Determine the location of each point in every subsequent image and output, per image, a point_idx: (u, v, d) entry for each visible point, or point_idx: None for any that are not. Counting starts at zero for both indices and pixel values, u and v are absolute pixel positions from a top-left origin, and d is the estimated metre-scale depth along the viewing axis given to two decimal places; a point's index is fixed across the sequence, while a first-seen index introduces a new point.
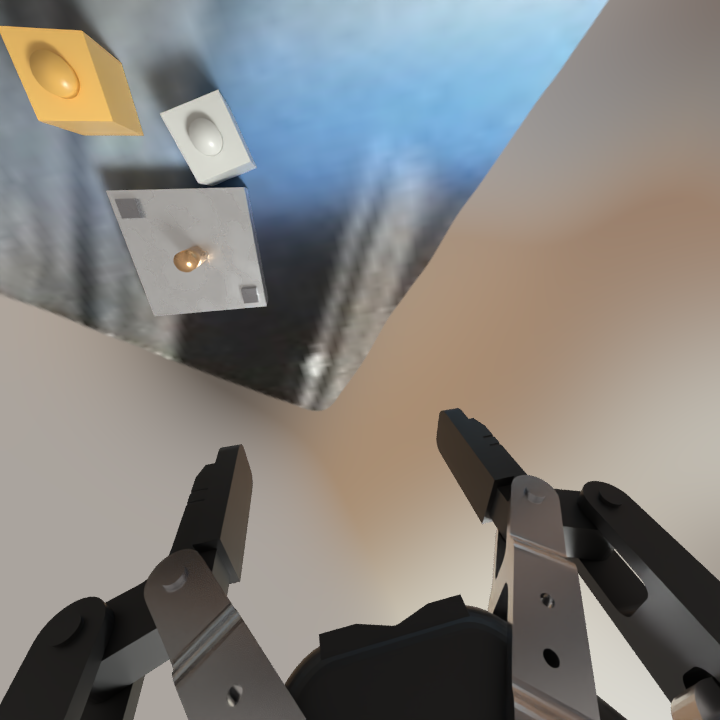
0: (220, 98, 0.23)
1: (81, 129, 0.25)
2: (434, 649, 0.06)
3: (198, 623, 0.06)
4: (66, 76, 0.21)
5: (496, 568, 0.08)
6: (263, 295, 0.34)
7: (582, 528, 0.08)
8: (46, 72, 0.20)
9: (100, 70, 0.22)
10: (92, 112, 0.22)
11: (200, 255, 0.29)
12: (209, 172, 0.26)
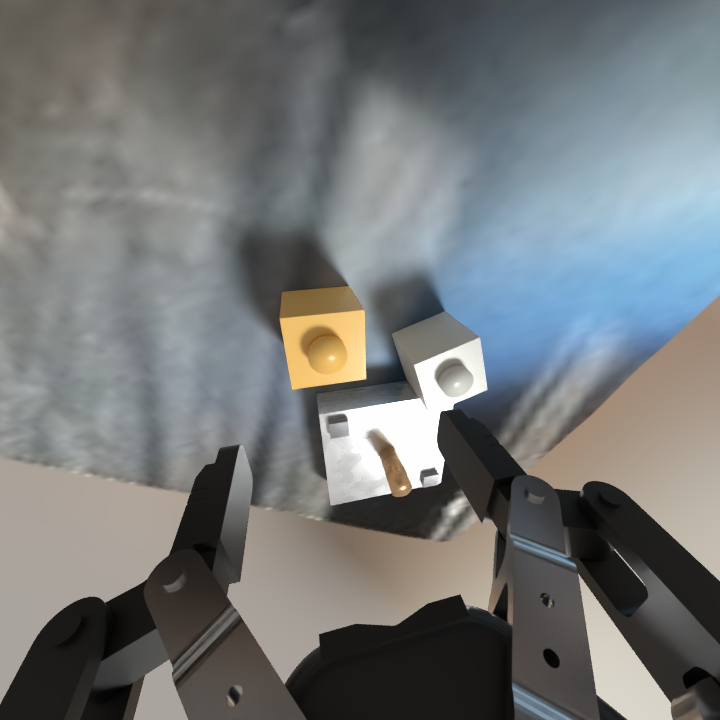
0: (479, 344, 0.21)
1: None
2: (434, 649, 0.06)
3: (198, 623, 0.06)
4: (341, 357, 0.18)
5: (496, 568, 0.08)
6: (440, 475, 0.31)
7: (582, 528, 0.08)
8: (322, 357, 0.18)
9: None
10: (348, 375, 0.20)
11: (402, 464, 0.26)
12: (443, 404, 0.23)
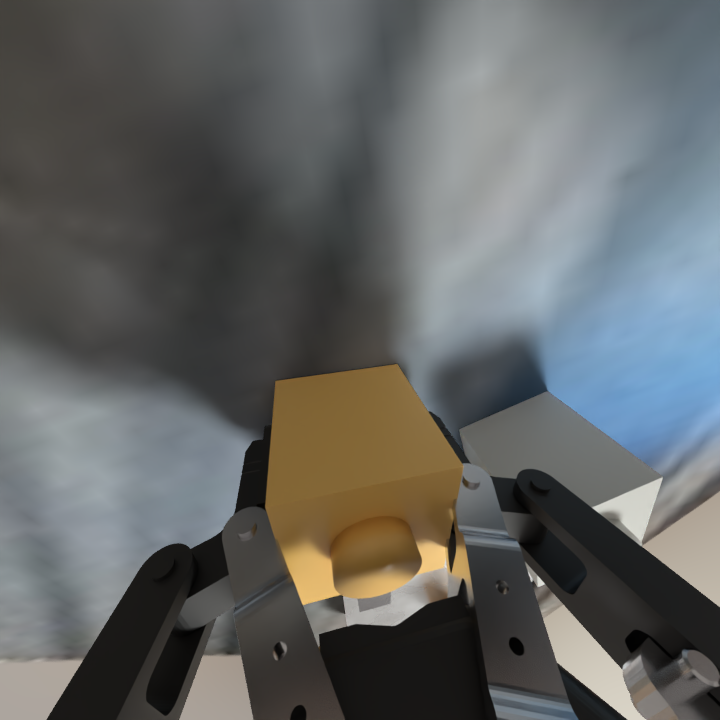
0: (656, 486, 0.11)
1: None
2: (434, 649, 0.06)
3: (259, 575, 0.07)
4: (408, 568, 0.08)
5: (449, 561, 0.09)
6: None
7: (513, 512, 0.08)
8: (367, 576, 0.08)
9: None
10: None
11: None
12: None
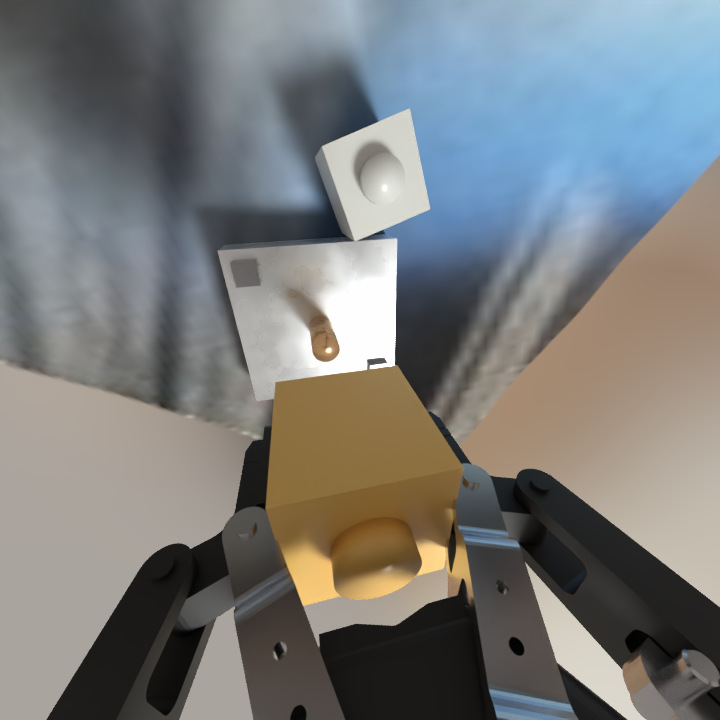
0: (409, 121, 0.16)
1: None
2: (434, 649, 0.06)
3: (259, 575, 0.07)
4: (408, 569, 0.08)
5: (449, 561, 0.09)
6: None
7: (513, 512, 0.08)
8: (367, 577, 0.08)
9: None
10: None
11: (334, 331, 0.21)
12: (372, 226, 0.18)
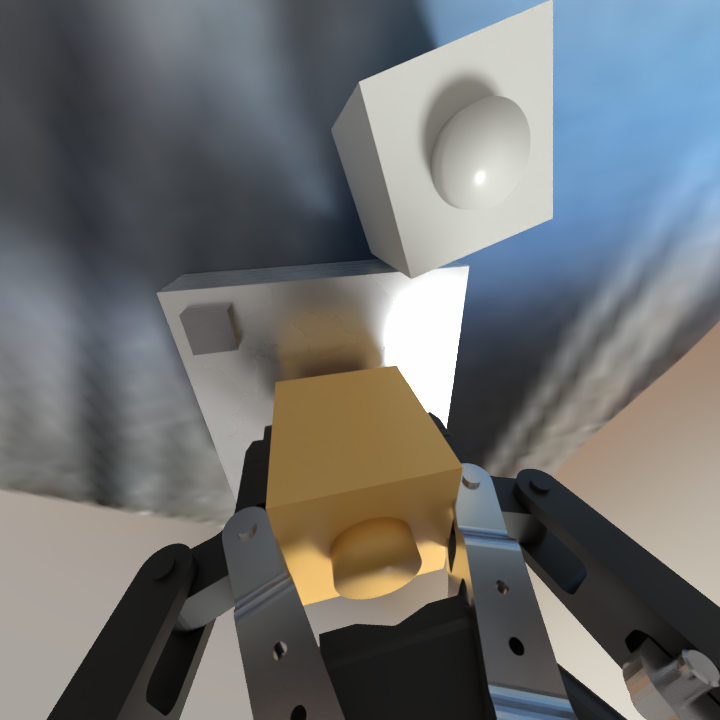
0: (548, 31, 0.07)
1: None
2: (434, 649, 0.06)
3: (259, 575, 0.07)
4: (408, 569, 0.08)
5: (449, 561, 0.09)
6: None
7: (513, 512, 0.08)
8: (367, 577, 0.08)
9: None
10: None
11: None
12: (446, 251, 0.09)
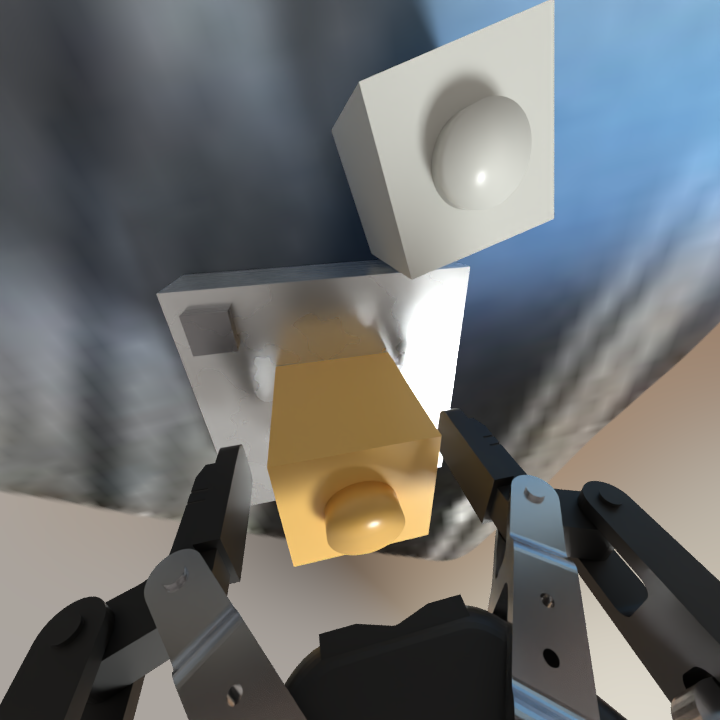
0: (549, 30, 0.07)
1: None
2: (434, 649, 0.06)
3: (198, 623, 0.06)
4: (393, 527, 0.09)
5: (496, 568, 0.08)
6: None
7: (582, 528, 0.08)
8: (356, 532, 0.09)
9: None
10: None
11: None
12: (446, 252, 0.09)
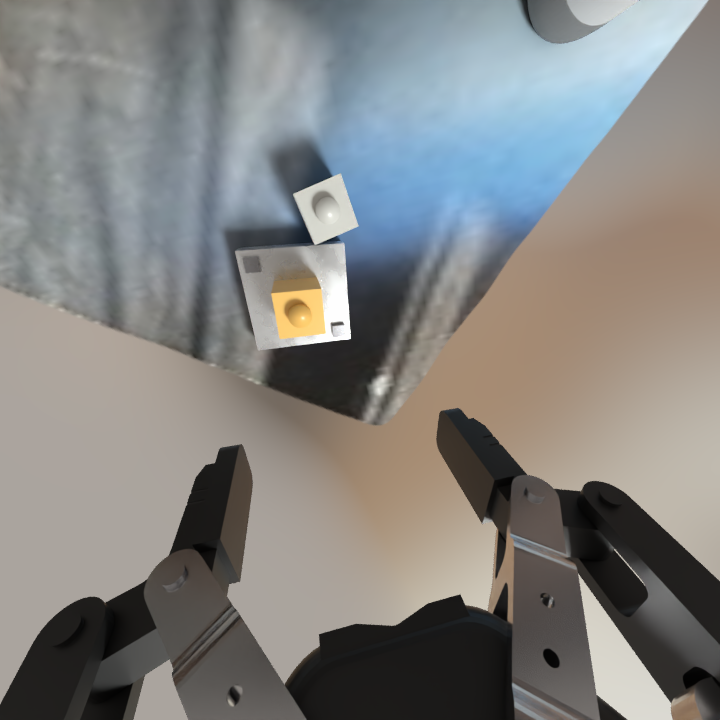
0: (341, 179, 0.28)
1: None
2: (434, 649, 0.06)
3: (198, 623, 0.06)
4: (308, 317, 0.30)
5: (496, 568, 0.08)
6: (348, 329, 0.39)
7: (582, 528, 0.08)
8: (297, 317, 0.30)
9: None
10: (314, 330, 0.32)
11: None
12: (324, 236, 0.31)
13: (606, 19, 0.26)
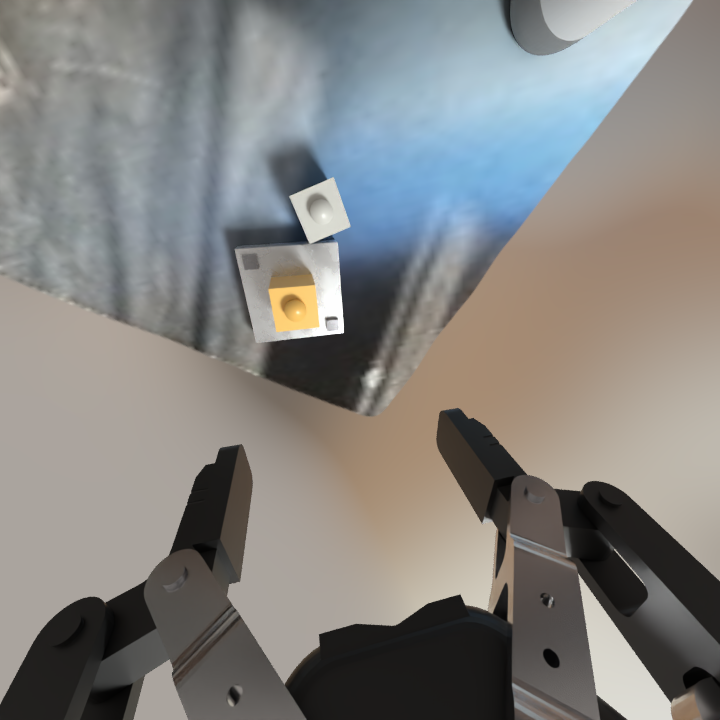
0: (334, 183, 0.31)
1: None
2: (434, 649, 0.06)
3: (198, 623, 0.06)
4: (303, 311, 0.32)
5: (496, 568, 0.08)
6: (342, 324, 0.41)
7: (582, 528, 0.08)
8: (292, 311, 0.32)
9: None
10: (309, 324, 0.34)
11: None
12: (319, 236, 0.33)
13: (581, 35, 0.28)
